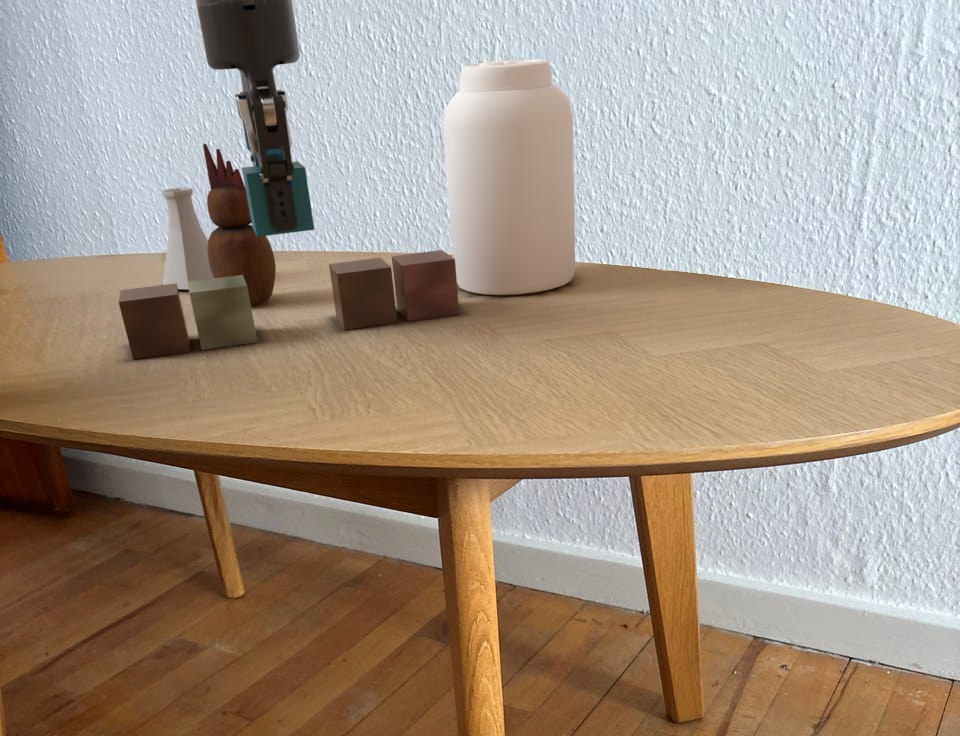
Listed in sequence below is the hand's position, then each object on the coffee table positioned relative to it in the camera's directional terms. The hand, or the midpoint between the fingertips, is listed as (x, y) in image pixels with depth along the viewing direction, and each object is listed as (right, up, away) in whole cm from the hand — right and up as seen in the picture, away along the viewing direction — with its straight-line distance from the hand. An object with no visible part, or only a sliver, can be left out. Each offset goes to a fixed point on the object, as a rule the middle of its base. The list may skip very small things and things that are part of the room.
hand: (281, 224), depth 88 cm
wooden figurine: (-6, -2, +16) cm, 17 cm away
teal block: (0, 0, 0) cm, 0 cm away
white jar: (+21, 0, +15) cm, 26 cm away
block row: (+1, -8, +5) cm, 9 cm away
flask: (-15, +4, +26) cm, 30 cm away
